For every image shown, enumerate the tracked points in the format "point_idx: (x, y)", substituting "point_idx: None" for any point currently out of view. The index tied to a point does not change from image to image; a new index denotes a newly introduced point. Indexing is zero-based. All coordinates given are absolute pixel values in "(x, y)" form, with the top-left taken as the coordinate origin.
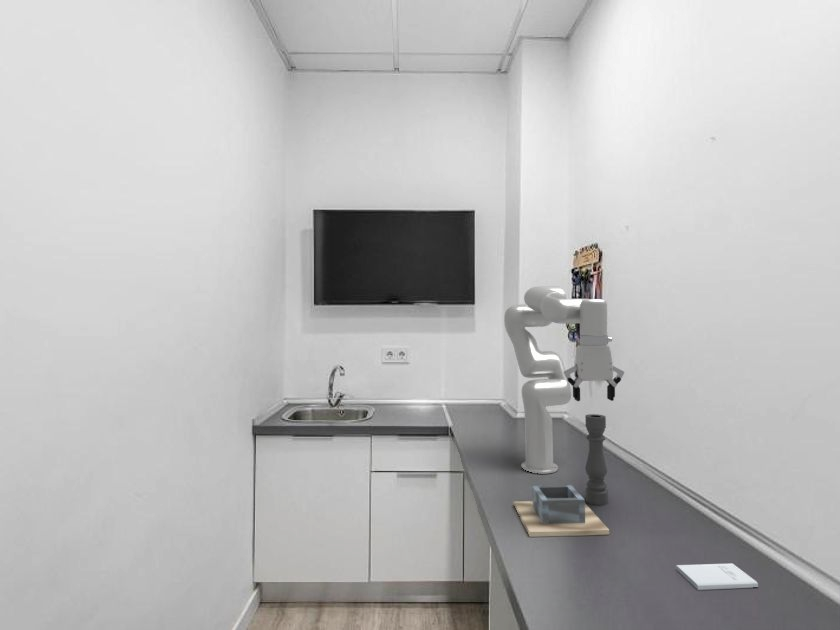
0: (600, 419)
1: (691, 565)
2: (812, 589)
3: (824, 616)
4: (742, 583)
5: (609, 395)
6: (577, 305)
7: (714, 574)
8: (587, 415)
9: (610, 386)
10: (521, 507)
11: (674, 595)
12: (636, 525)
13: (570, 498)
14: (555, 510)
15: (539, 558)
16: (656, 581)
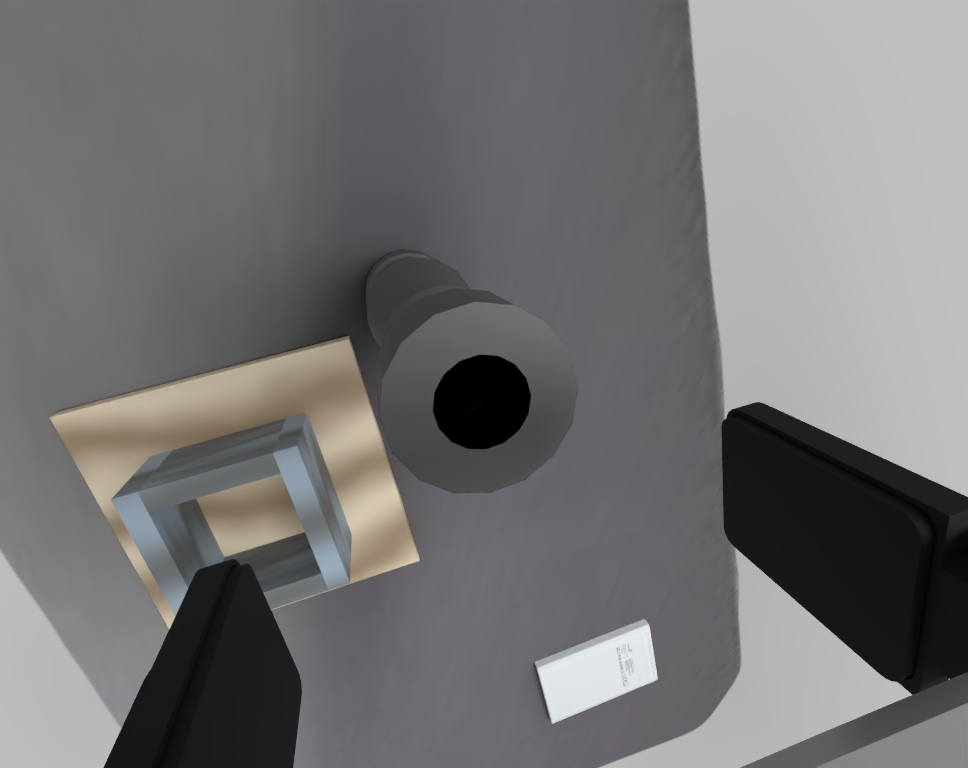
0: (512, 477)
1: (567, 664)
2: (734, 650)
3: (701, 717)
4: (631, 690)
5: (767, 528)
6: None
7: (597, 680)
8: (404, 380)
9: (928, 649)
10: (102, 467)
11: (502, 747)
12: None
13: (296, 586)
14: None
15: None
16: (483, 717)
